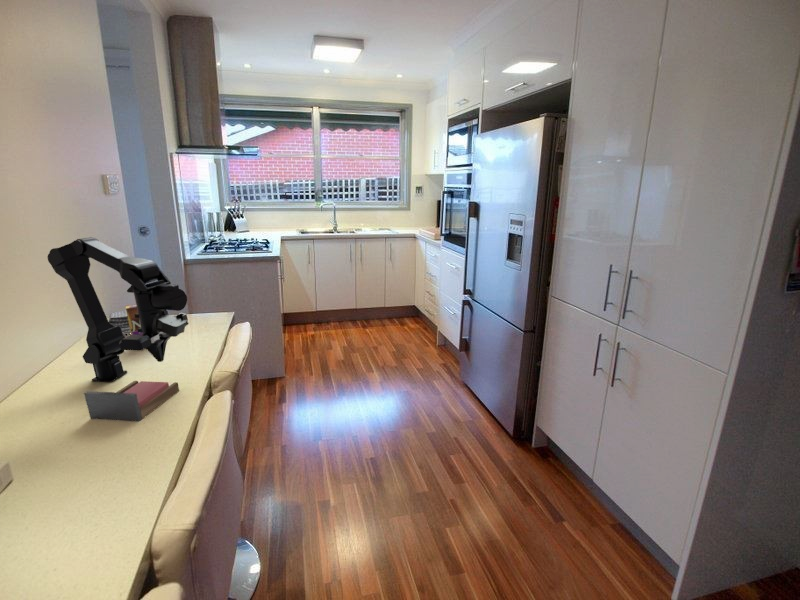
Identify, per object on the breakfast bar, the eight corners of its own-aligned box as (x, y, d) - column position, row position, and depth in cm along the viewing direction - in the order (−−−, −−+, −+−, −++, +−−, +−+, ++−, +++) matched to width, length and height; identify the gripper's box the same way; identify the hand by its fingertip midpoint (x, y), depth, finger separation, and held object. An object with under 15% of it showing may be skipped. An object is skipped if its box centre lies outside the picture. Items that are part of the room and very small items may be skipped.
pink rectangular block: (108, 418, 100) (105, 404, 99) (144, 394, 112) (141, 381, 110) (138, 420, 99) (135, 405, 98) (170, 395, 111) (168, 382, 109)
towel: (164, 328, 163) (161, 309, 160) (109, 339, 153) (104, 319, 150) (160, 319, 175) (157, 301, 172) (109, 328, 165) (104, 309, 162)
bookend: (90, 418, 100) (83, 393, 98) (94, 416, 101) (87, 391, 99) (139, 421, 98) (133, 395, 96) (142, 419, 99) (136, 393, 97)
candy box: (134, 350, 141) (125, 308, 137) (134, 346, 144) (124, 305, 140) (163, 344, 146) (155, 303, 141) (162, 340, 149) (154, 300, 145)
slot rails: (94, 416, 101) (92, 407, 100) (136, 388, 114) (134, 380, 113) (142, 419, 99) (140, 409, 98) (179, 390, 112) (177, 382, 112)
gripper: (152, 320, 100) (164, 377, 104) (198, 298, 117) (206, 348, 122) (111, 319, 101) (125, 376, 105) (162, 298, 119) (172, 347, 123)
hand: (160, 361), depth 114 cm, fingers closed
